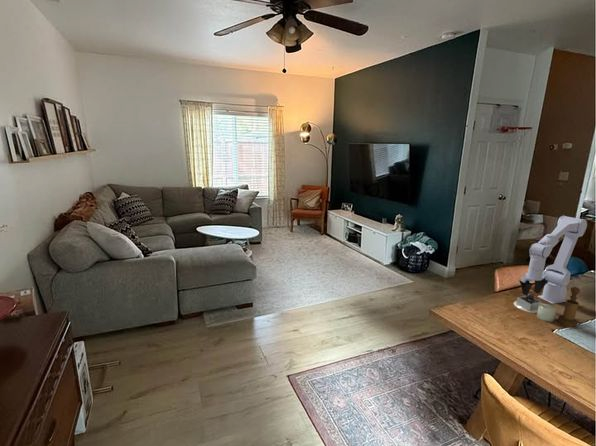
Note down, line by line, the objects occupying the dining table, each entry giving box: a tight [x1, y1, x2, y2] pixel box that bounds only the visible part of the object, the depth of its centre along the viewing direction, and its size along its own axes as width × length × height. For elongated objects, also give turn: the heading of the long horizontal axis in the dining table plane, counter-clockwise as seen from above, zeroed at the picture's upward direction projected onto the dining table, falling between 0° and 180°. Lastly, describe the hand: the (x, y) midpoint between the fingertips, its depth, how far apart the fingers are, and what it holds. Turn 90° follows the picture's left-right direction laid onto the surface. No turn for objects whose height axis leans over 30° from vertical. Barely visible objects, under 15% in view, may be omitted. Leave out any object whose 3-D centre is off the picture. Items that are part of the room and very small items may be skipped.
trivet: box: [513, 300, 538, 314], centre depth 154 cm, size 12×12×1 cm
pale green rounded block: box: [536, 303, 557, 323], centre depth 143 cm, size 6×6×6 cm
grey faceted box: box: [516, 294, 543, 311], centre depth 154 cm, size 7×9×4 cm
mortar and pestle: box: [557, 286, 581, 329], centre depth 137 cm, size 7×6×18 cm
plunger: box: [525, 292, 535, 303], centre depth 153 cm, size 5×5×6 cm
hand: (530, 293), depth 152 cm, fingers open, 7 cm apart
